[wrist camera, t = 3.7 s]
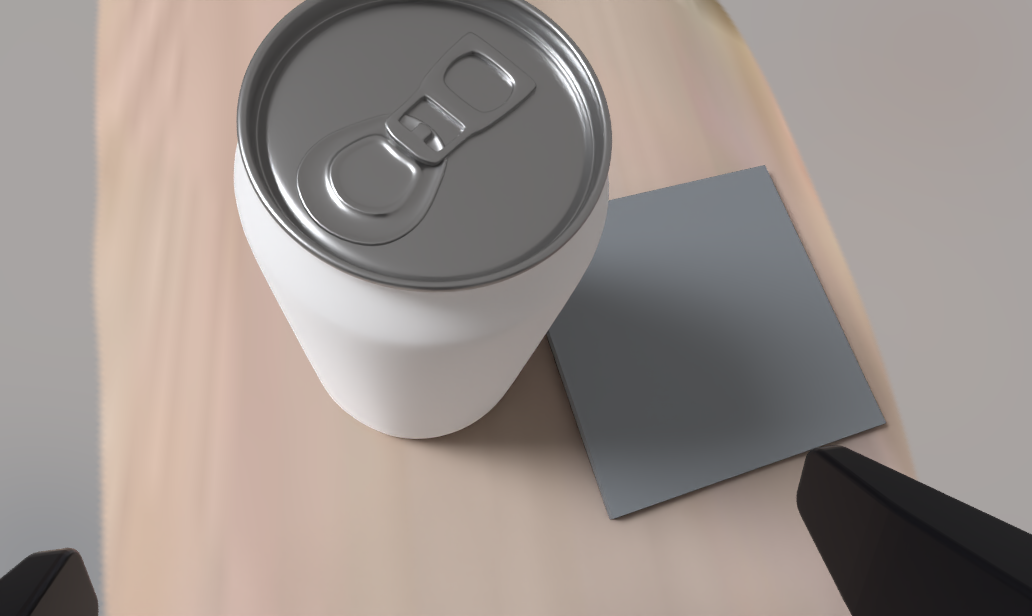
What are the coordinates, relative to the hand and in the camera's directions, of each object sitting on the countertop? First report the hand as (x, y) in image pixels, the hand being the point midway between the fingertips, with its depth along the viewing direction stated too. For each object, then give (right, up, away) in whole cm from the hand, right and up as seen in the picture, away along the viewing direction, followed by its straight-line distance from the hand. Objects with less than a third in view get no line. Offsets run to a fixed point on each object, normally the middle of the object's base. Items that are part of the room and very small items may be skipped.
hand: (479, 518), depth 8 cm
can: (-3, +2, +13) cm, 13 cm away
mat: (+7, +2, +15) cm, 16 cm away
